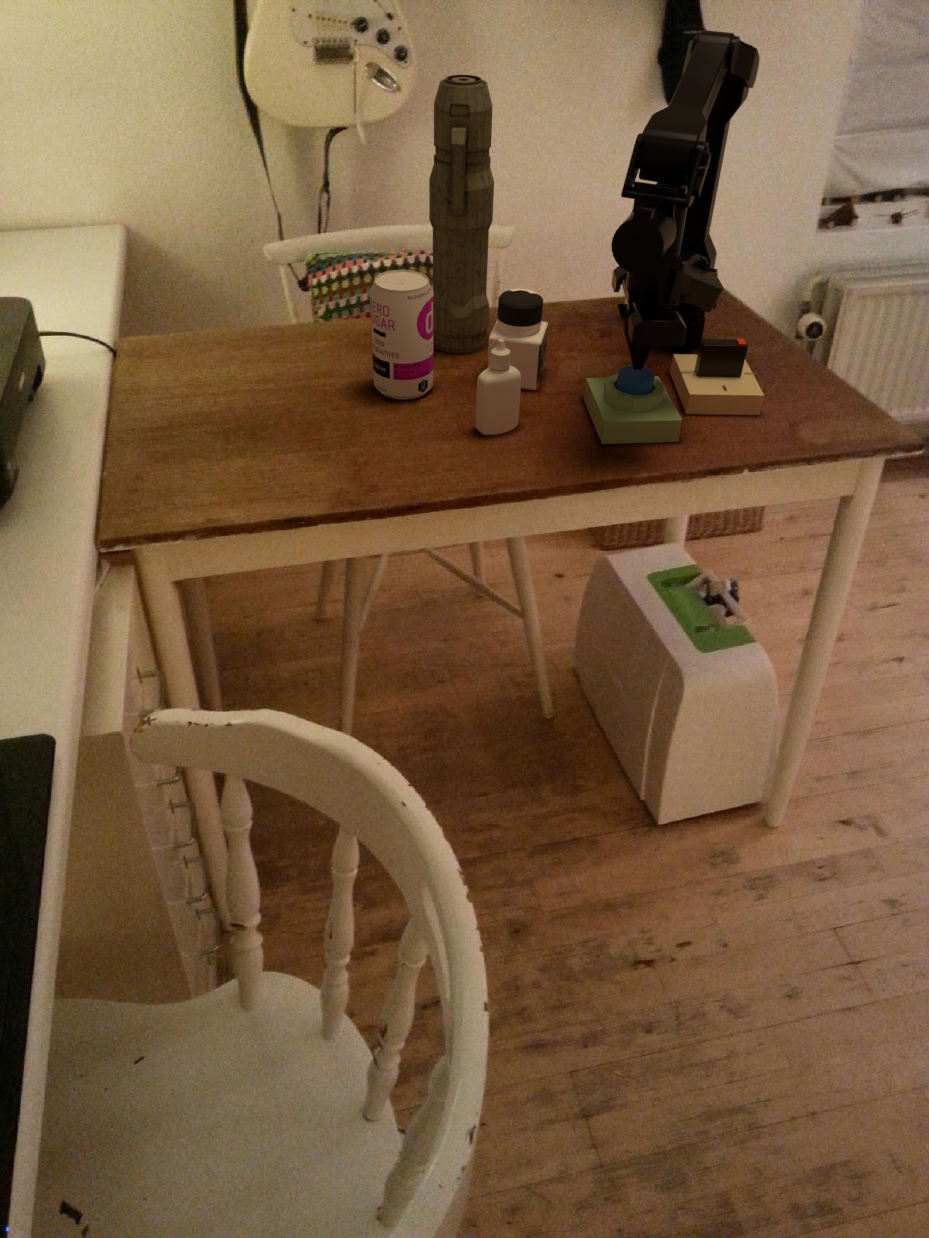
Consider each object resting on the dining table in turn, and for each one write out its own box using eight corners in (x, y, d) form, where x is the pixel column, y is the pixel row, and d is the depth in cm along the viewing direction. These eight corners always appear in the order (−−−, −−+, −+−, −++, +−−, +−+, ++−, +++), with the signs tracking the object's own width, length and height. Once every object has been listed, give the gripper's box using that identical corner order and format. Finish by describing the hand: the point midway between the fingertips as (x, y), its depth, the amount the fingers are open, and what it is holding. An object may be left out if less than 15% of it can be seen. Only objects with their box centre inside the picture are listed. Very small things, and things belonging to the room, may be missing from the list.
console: (669, 373, 137) (672, 352, 135) (739, 374, 137) (744, 354, 135) (684, 414, 128) (689, 393, 125) (760, 415, 128) (765, 394, 126)
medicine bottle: (537, 391, 131) (543, 307, 124) (486, 385, 132) (489, 301, 125) (544, 368, 137) (551, 286, 129) (495, 363, 138) (499, 281, 130)
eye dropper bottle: (474, 419, 125) (477, 332, 117) (517, 420, 125) (523, 333, 117) (475, 436, 122) (478, 348, 114) (519, 436, 122) (525, 348, 114)
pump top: (612, 380, 124) (614, 366, 123) (647, 379, 125) (649, 365, 124) (620, 397, 121) (622, 382, 120) (656, 396, 121) (658, 381, 120)
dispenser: (583, 399, 130) (587, 365, 127) (654, 397, 131) (660, 363, 128) (601, 444, 121) (606, 409, 118) (678, 442, 122) (685, 407, 119)
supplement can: (441, 379, 133) (442, 273, 124) (420, 406, 127) (419, 296, 118) (388, 370, 135) (384, 264, 126) (364, 395, 129) (359, 287, 120)
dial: (697, 376, 129) (703, 343, 126) (694, 369, 131) (700, 337, 128) (740, 377, 130) (748, 344, 126) (737, 370, 131) (745, 338, 128)
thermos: (429, 358, 138) (428, 89, 116) (428, 324, 147) (428, 68, 124) (489, 358, 139) (501, 90, 116) (485, 324, 148) (496, 69, 125)
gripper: (743, 276, 104) (715, 404, 114) (708, 219, 118) (686, 338, 128) (642, 274, 104) (623, 403, 114) (619, 217, 118) (604, 336, 128)
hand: (637, 368), depth 121 cm, fingers closed
